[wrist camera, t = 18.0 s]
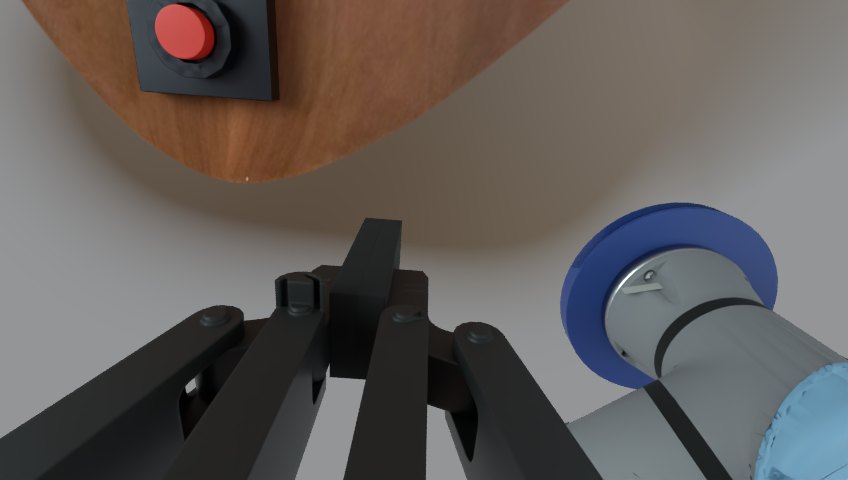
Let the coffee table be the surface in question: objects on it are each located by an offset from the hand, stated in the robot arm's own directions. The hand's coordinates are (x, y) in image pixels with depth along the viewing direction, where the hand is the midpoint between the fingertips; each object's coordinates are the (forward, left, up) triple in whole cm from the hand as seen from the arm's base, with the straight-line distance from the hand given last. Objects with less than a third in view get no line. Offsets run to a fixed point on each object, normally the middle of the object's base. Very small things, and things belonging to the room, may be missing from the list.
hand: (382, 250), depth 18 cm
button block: (+19, -9, -26) cm, 34 cm away
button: (+19, -9, -23) cm, 31 cm away
